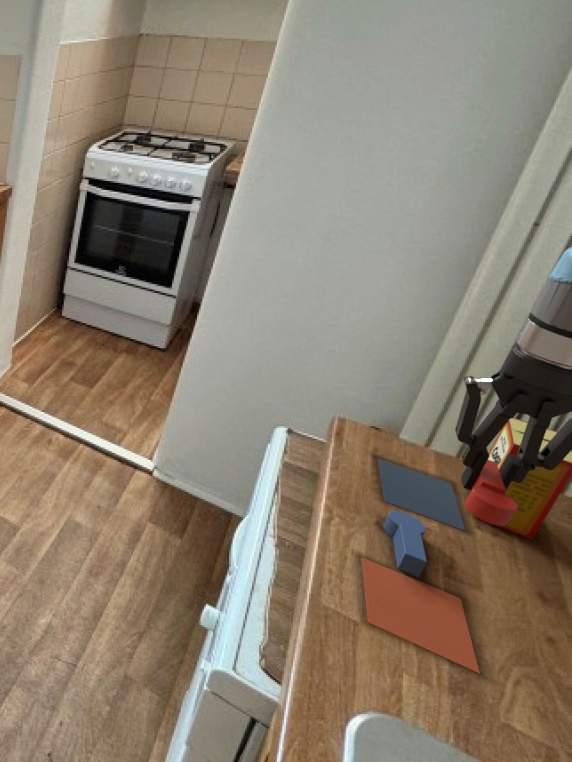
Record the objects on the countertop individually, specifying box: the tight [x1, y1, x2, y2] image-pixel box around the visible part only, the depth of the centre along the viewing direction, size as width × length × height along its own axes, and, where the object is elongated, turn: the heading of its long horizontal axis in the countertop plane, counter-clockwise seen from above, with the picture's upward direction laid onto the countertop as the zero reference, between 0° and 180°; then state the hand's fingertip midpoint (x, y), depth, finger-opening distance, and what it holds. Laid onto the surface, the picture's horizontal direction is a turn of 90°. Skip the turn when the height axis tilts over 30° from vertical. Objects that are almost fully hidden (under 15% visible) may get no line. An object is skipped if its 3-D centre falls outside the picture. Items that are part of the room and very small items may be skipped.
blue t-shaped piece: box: [382, 510, 428, 578], centre depth 93 cm, size 11×4×4 cm, turn 143°
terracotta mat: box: [361, 557, 481, 675], centre depth 84 cm, size 11×13×1 cm
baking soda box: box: [473, 417, 572, 540], centre depth 98 cm, size 10×6×16 cm
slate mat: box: [377, 458, 467, 532], centre depth 105 cm, size 10×13×1 cm
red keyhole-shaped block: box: [464, 460, 518, 527], centre depth 87 cm, size 11×4×4 cm, turn 141°
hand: (480, 488), depth 89 cm, fingers closed on red keyhole-shaped block, 2 cm apart
